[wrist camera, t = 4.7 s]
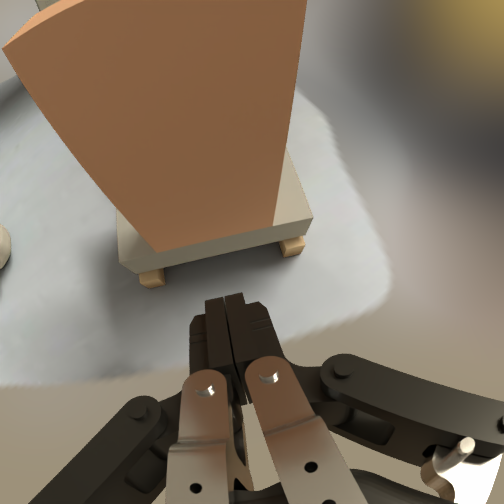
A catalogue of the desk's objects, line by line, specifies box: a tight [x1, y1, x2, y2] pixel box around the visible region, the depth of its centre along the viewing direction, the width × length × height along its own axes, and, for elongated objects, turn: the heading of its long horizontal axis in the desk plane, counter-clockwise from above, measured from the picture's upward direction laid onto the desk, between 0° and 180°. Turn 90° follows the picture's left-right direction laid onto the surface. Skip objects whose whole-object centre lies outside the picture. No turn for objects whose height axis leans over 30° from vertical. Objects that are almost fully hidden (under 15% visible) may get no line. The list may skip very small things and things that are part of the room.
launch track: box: [139, 236, 305, 288], centre depth 20 cm, size 16×10×2 cm, turn 14°
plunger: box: [2, 0, 313, 274], centre depth 12 cm, size 10×10×16 cm
